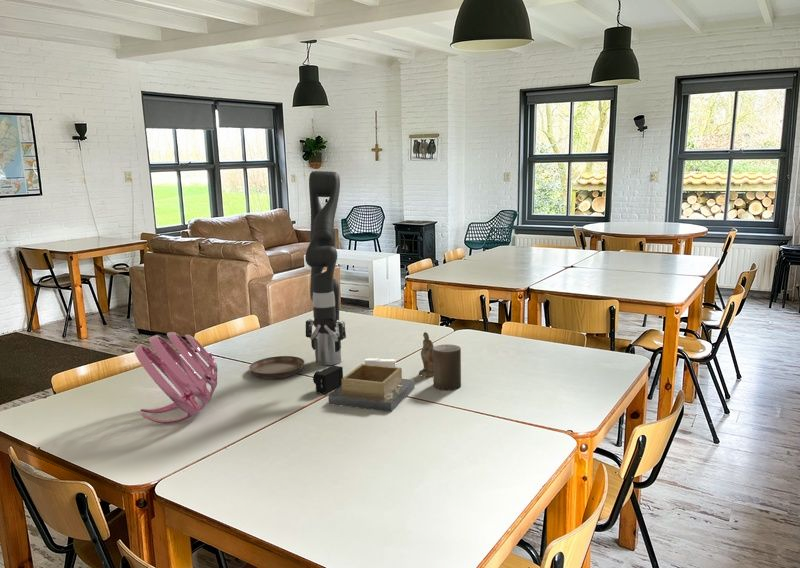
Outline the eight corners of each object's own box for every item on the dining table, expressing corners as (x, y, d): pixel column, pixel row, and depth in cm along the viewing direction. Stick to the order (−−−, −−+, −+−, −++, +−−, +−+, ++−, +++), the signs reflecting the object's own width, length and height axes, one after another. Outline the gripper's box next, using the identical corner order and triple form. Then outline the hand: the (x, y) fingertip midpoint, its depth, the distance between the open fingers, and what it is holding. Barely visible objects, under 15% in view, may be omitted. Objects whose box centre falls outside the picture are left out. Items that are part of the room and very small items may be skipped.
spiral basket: (94, 376, 179) (172, 314, 186) (112, 369, 206) (180, 315, 213) (160, 449, 183) (235, 385, 189) (169, 433, 210) (235, 378, 216)
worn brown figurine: (427, 384, 230) (419, 339, 224) (417, 380, 234) (409, 336, 228) (449, 370, 237) (442, 326, 231) (439, 366, 241) (432, 323, 235)
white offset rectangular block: (404, 373, 236) (404, 358, 235) (383, 381, 228) (383, 366, 227) (376, 365, 246) (375, 351, 245) (355, 372, 238) (354, 358, 237)
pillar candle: (459, 391, 215) (459, 348, 212) (431, 389, 217) (430, 347, 214) (462, 381, 225) (462, 340, 222) (435, 380, 226) (435, 339, 224)
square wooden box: (328, 404, 206) (327, 380, 205) (356, 381, 227) (355, 360, 225) (391, 411, 199) (390, 387, 197) (414, 388, 219) (414, 366, 217)
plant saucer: (239, 379, 233) (239, 371, 232) (264, 362, 253) (264, 354, 252) (291, 382, 228) (291, 374, 227) (312, 364, 248) (312, 356, 247)
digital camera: (331, 383, 226) (330, 364, 225) (343, 385, 224) (342, 366, 222) (313, 392, 218) (312, 372, 216) (325, 394, 215) (324, 375, 214)
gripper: (300, 305, 214) (302, 351, 217) (338, 307, 209) (340, 354, 212) (310, 301, 221) (313, 345, 224) (347, 303, 216) (349, 348, 219)
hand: (326, 350), depth 218 cm, fingers open, 8 cm apart
